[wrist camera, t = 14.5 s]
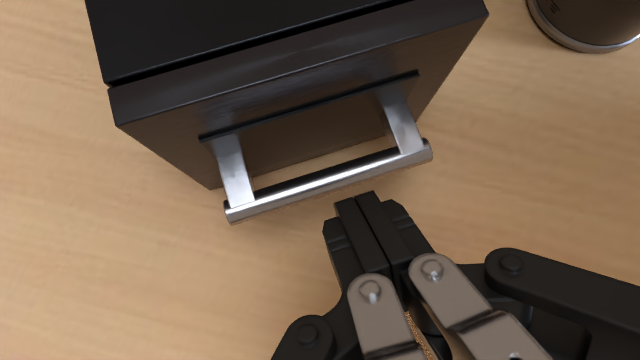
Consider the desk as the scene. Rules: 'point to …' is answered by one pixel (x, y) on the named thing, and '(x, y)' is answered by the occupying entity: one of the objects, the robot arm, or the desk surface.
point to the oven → (201, 29)
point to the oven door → (303, 104)
